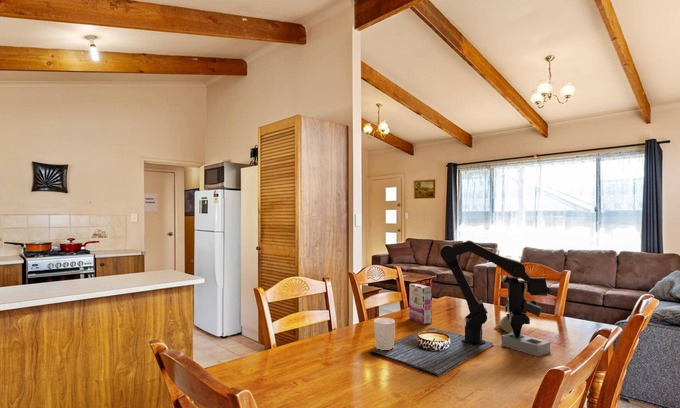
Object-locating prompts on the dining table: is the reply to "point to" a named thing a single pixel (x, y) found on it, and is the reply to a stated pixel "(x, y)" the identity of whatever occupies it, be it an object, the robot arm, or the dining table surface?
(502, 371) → the dining table surface
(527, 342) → the block
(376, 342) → the white cup
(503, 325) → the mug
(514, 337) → the peg
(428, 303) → the candy bar box
